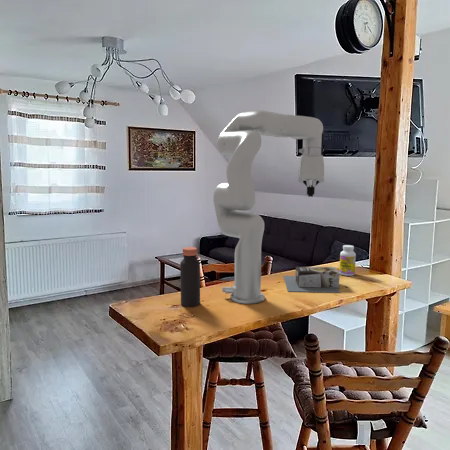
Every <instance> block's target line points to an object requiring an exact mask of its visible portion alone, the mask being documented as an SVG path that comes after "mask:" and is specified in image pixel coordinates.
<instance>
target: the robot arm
mask: <svg viewBox="0 0 450 450" xmlns="http://www.w3.org/2000/svg"><path fill="white" fill-rule="evenodd" d="M323 131H324V125H323V123H322V121H321V120H320V119H319V118H316V117H313V116H305V115H294V114H283V113H278V112H272V111H267V110H252V111H243V112H241V113H238V114H237V115H236V116H235V117H234V118H233V119H232V120H231V121H230V122H229V123H228V124H227V126H226V127H225V128H224V129H223V130H222V131H221V132H220V134H219V136H218V138H217V140H216V141H217V142H216V147H217V150H218V152H219V153H220V154H222V155H223V156H224V157H225V156H227V157H230V159H229V160H228V163H227V165H226V172H225V173H226V179H227V180H226V181H227V182H222V183H220V184H218V185H217V186H216V188H215V189H214V192H213V205H214V211H215V214H216V221H217V225H218V228H219V231H220V232H221V233H222V234H223V235H224V236H228V237H232V238H238V239H239V240H238V242H237V244H236V246H235V248H234V284H233V285H232V286H222V288H221V291H222V293H225V294H230V297H229V298H230V300H231V301H233V302H234V303H238V304H243V305H244V304H245V305H246V304H247V305H248V304H250V305H251V304H258V303H261V302H263V301H265V299H266V296H265V294H264V293H262V292H261V291H262V290H261V289H262V287H261V285H262V279H261V278H262V245H263V244H262V242H263V236H264V231H265V221H264V218H262V216H260V215H259V214H257V213H255V212H250V210H252V209H253V208H254V207H255V205H256V194H255V186H254V181H253V175H252V166H253V165H252V164H253V162H254V160H255V158H256V155H257V154H258V153H259V151H260V149H261V147H262V137H261V136H266V137H273V138H291V139H293V140H302V148H299V149H298V153H300V154H301V155H300V157H299V158H300V159H299V165H298V179H297V182H298V183H302V184H304V185H305V187H306V195H307V196H308V197H313V196H314V195H315V189H316V188H315V187H317V186H318V184H321V183H324V182H325V158H324V155H322V140H323V139H322V137H323V136H322V134H323ZM310 180H312V182H311V184H310ZM313 198H314V197H313ZM248 211H249V212H248Z"/></svg>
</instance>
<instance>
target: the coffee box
mask: <svg viewBox="0 0 450 450" xmlns="http://www.w3.org/2000/svg"><path fill="white" fill-rule="evenodd" d="M295 276H296V282H297V285H298V287H332V288H338V289H339V288H340V278H341V274H340V273H339V270H338V269H337V268H336V267H335V266H295Z"/></svg>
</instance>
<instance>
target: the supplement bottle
mask: <svg viewBox="0 0 450 450" xmlns="http://www.w3.org/2000/svg"><path fill="white" fill-rule="evenodd" d="M342 249H343V250H342V251H340V252H339V253H340V254H339V268H338V269H339V270H338V272H339V273H340V276H344V277H353V276H354V275H355V274H356V259H357V256H356V255H357V253H356V252H355V251H354V249H355V246H354V245H351V244H344V245H342Z"/></svg>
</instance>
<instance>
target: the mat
mask: <svg viewBox="0 0 450 450" xmlns="http://www.w3.org/2000/svg"><path fill="white" fill-rule="evenodd" d="M282 277H283V280H284V284H285V286H286V289H287V292H288V293H329V294H330V293H333V294H334V293H335V294H337V293H338V294H339V293H341V290H340V289H339V288H332V287H298V285H297V282H296V275H283V276H282Z"/></svg>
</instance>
